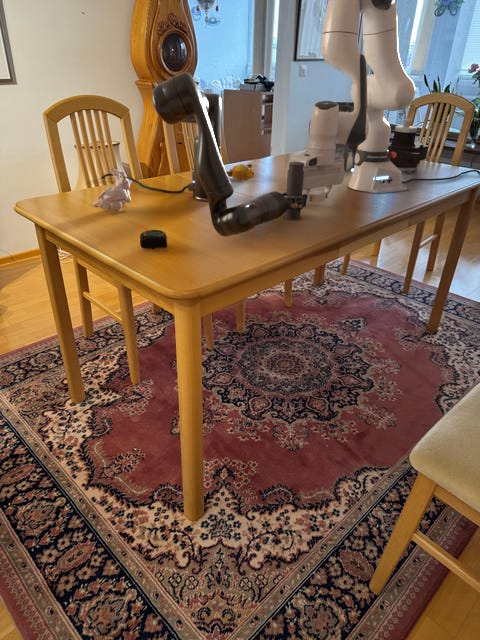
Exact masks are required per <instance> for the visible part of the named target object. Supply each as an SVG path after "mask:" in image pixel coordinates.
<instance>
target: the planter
mask: <svg viewBox="0 0 480 640" xmlns="http://www.w3.org/2000/svg"><path fill="white" fill-rule="evenodd" d="M334 102H335V103H337V104H338V107H339V112H353V111H354V102H353V101H334ZM335 145H336V149H338V148H340V147H342V153H341V156H342V157H343V158H344V172H345V171H347V167H348V166H347V165H348V159H349V153H350V154H351V157H352V158H351V159H352V160H351V161H352V166H353V167H354V166H355V155H356V149H357V148H358V146H350V145H346V144H335ZM349 150H350V151H351V152H349Z"/></svg>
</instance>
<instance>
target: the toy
mask: <svg viewBox="0 0 480 640" xmlns="http://www.w3.org/2000/svg"><path fill="white" fill-rule="evenodd" d="M254 171H255V170H254V166H253V164H252V163H248V164H244V163H239V164H236V165H234V166H233V167H232V168H230V169H229V170H226V172H227V174H228V177H229V178H230V177H232V178H233V179H236V180H238V181H241V182H243V181H248V180H250V179H253V178H254V177H255V175H256V174H255V172H254Z"/></svg>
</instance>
